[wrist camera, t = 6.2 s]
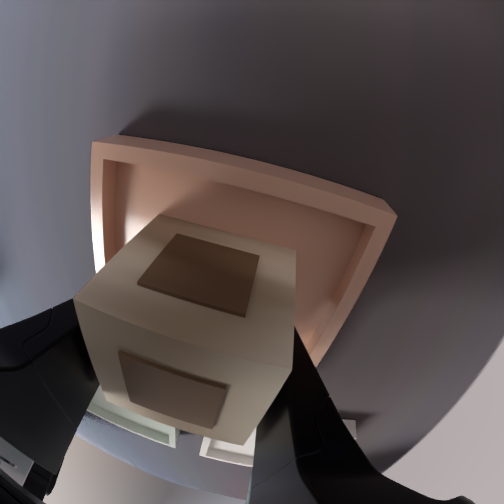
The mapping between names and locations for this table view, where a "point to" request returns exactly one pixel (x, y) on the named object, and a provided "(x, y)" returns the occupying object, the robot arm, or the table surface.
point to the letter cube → (192, 327)
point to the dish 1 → (132, 421)
